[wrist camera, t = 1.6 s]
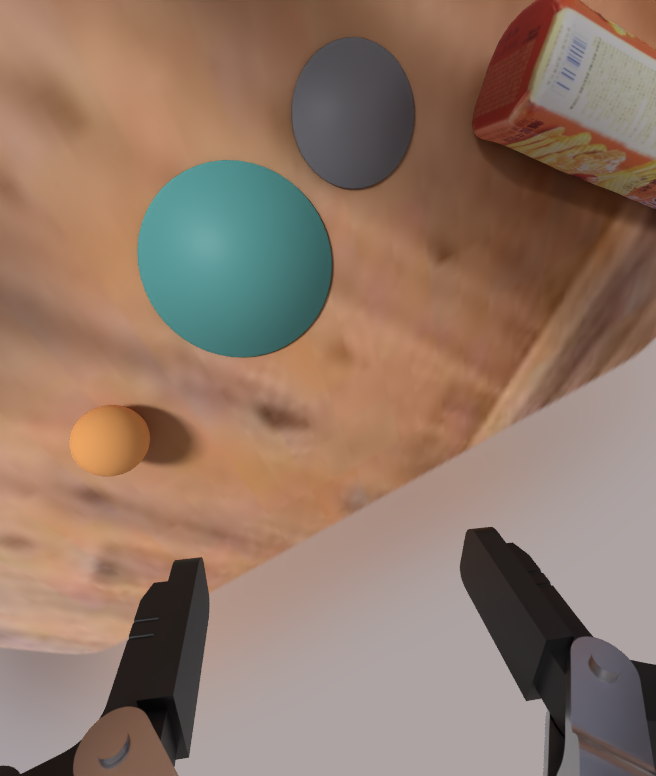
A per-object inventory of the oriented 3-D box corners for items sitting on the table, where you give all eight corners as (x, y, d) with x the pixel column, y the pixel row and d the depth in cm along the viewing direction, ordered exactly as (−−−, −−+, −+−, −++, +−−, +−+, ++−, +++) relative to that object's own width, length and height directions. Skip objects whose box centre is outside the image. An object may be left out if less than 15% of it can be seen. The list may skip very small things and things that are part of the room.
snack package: (715, 140, 31) (830, 123, 25) (667, 227, 33) (762, 232, 27) (494, 20, 25) (576, -40, 19) (454, 138, 27) (515, 118, 21)
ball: (70, 430, 30) (41, 469, 25) (107, 381, 29) (83, 413, 24) (133, 461, 32) (116, 502, 27) (168, 416, 31) (157, 451, 26)
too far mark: (265, 121, 24) (265, 120, 24) (351, 1, 23) (351, 0, 23) (356, 215, 28) (357, 215, 27) (436, 115, 26) (438, 115, 26)
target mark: (98, 280, 26) (97, 280, 26) (216, 108, 24) (216, 108, 23) (257, 387, 31) (257, 388, 31) (366, 256, 29) (367, 256, 29)
